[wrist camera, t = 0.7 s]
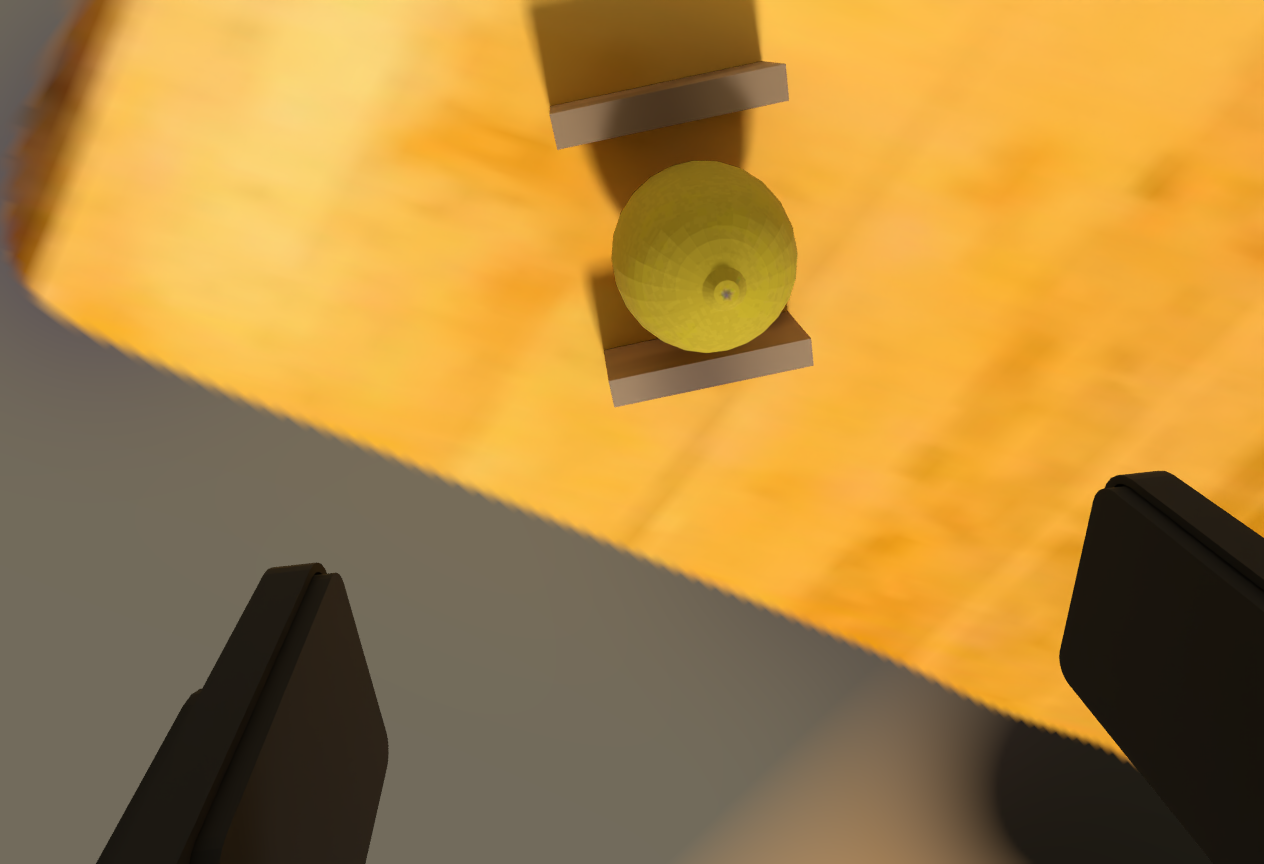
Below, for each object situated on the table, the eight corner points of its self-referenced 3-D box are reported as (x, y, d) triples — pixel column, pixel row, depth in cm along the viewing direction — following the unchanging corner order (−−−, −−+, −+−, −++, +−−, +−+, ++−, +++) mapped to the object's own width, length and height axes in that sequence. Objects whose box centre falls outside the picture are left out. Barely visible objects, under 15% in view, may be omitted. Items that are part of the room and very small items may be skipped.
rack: (761, 61, 26) (785, 63, 23) (790, 336, 30) (813, 365, 27) (549, 106, 26) (549, 114, 23) (609, 374, 30) (614, 407, 27)
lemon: (571, 224, 28) (577, 288, 20) (694, 109, 26) (746, 135, 19) (674, 335, 30) (711, 428, 23) (792, 233, 28) (871, 299, 21)
